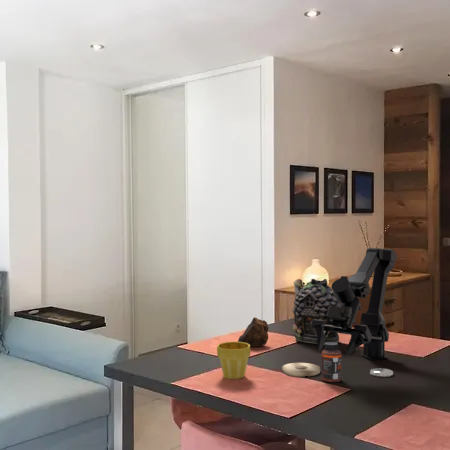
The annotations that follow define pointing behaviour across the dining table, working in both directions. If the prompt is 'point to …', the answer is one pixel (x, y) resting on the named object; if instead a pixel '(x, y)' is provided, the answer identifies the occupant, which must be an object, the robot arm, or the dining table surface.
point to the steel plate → (381, 372)
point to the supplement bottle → (331, 362)
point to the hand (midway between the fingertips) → (331, 353)
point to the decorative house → (312, 309)
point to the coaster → (301, 369)
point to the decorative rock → (255, 333)
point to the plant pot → (233, 358)
